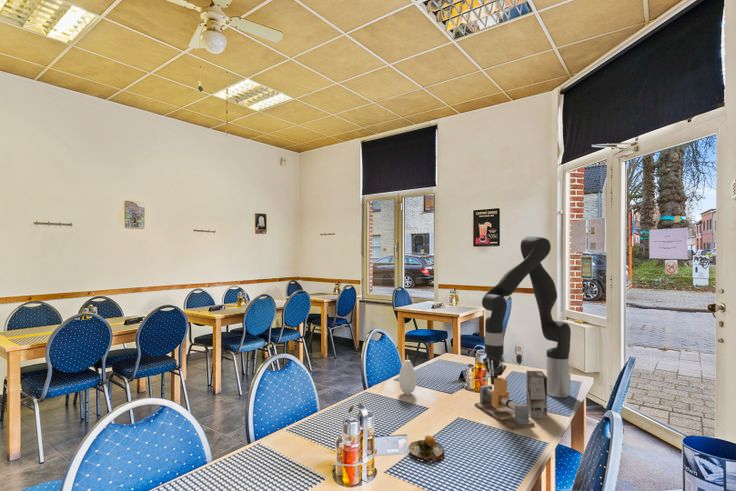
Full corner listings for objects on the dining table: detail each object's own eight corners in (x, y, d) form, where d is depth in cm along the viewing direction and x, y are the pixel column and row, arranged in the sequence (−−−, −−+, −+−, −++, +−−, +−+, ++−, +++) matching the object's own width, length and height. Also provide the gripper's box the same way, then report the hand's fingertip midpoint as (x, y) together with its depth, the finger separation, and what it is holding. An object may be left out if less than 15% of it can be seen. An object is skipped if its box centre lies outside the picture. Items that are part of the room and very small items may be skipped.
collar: (491, 405, 166) (491, 378, 166) (504, 403, 168) (504, 377, 168) (496, 408, 163) (496, 381, 163) (508, 406, 165) (508, 379, 165)
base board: (474, 405, 174) (474, 403, 174) (494, 402, 177) (494, 400, 177) (512, 429, 151) (512, 426, 151) (534, 425, 154) (534, 422, 154)
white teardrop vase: (416, 397, 183) (416, 357, 183) (399, 397, 183) (399, 357, 183) (415, 391, 191) (415, 352, 191) (398, 390, 191) (398, 352, 191)
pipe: (479, 402, 174) (479, 386, 174) (489, 401, 176) (489, 384, 176) (517, 425, 152) (517, 407, 152) (528, 423, 154) (528, 405, 154)
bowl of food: (420, 441, 143) (420, 420, 143) (451, 452, 135) (451, 429, 135) (401, 455, 133) (401, 432, 133) (432, 467, 126) (432, 443, 126)
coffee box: (547, 418, 160) (547, 377, 160) (530, 417, 162) (530, 376, 162) (542, 409, 169) (542, 370, 169) (526, 408, 171) (526, 369, 171)
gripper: (512, 345, 164) (512, 388, 164) (491, 338, 177) (491, 378, 177) (496, 347, 162) (496, 391, 162) (477, 339, 174) (476, 380, 174)
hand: (494, 384), depth 169 cm, fingers closed
